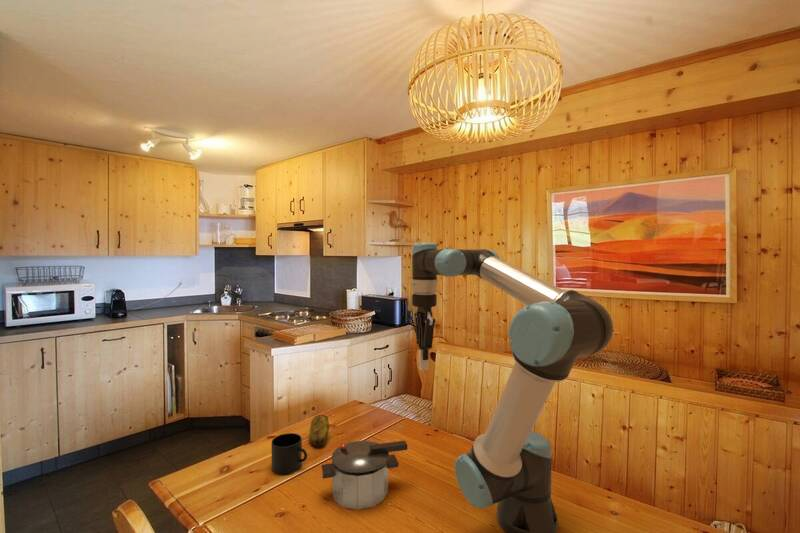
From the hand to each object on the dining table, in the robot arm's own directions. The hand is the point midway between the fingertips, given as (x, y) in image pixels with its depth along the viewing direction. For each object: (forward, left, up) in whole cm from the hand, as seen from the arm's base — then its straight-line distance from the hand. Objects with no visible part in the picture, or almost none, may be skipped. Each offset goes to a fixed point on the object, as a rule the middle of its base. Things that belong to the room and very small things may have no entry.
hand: (423, 369), depth 116 cm
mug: (+17, +40, -35) cm, 56 cm away
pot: (-1, +20, -34) cm, 40 cm away
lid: (-1, +17, -24) cm, 30 cm away
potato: (+33, +30, -35) cm, 56 cm away
